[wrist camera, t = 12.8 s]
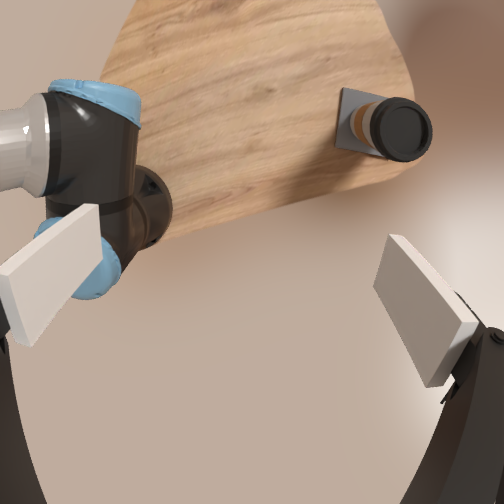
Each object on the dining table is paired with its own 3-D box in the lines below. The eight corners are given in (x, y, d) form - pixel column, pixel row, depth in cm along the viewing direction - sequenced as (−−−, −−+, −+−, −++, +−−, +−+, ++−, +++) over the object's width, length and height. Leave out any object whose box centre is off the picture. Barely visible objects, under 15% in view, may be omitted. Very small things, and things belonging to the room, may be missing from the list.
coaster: (334, 146, 48) (335, 147, 48) (342, 87, 44) (343, 87, 44) (390, 157, 49) (391, 158, 48) (398, 101, 44) (400, 101, 44)
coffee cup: (399, 119, 45) (446, 127, 32) (372, 158, 48) (412, 178, 35) (361, 88, 44) (399, 82, 30) (333, 128, 47) (362, 136, 33)
